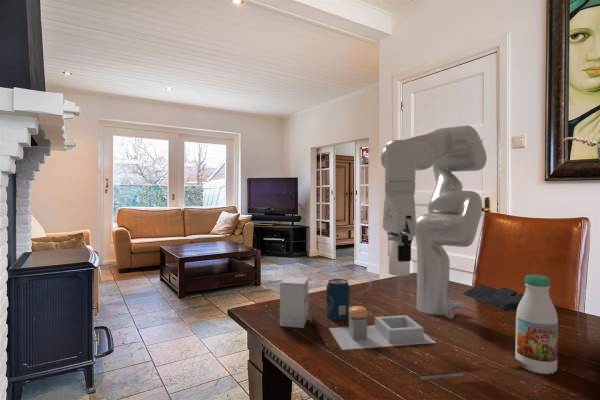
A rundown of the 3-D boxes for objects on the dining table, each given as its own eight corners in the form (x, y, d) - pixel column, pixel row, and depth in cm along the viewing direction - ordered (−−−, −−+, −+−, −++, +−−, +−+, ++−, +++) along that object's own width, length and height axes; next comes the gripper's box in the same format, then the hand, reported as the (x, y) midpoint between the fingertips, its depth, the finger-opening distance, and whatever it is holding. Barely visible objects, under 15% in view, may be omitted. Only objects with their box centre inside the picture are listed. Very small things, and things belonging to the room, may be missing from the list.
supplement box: (304, 328, 99) (304, 284, 99) (278, 326, 100) (278, 282, 100) (308, 319, 106) (309, 277, 106) (285, 317, 108) (285, 276, 107)
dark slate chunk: (491, 291, 137) (491, 279, 137) (545, 309, 116) (545, 295, 116) (459, 294, 133) (459, 282, 133) (509, 314, 112) (509, 299, 112)
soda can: (323, 318, 107) (323, 279, 107) (344, 316, 109) (344, 277, 108) (330, 326, 100) (331, 284, 100) (353, 324, 102) (353, 283, 102)
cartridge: (404, 270, 94) (404, 233, 94) (413, 275, 89) (414, 236, 88) (385, 271, 93) (385, 233, 93) (393, 276, 88) (393, 236, 87)
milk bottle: (507, 358, 81) (508, 272, 81) (538, 357, 82) (540, 272, 81) (532, 376, 73) (533, 281, 73) (566, 374, 74) (568, 280, 74)
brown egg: (363, 326, 92) (363, 305, 92) (368, 333, 88) (369, 311, 88) (346, 327, 91) (346, 306, 91) (352, 334, 87) (352, 312, 87)
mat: (438, 353, 84) (438, 351, 84) (464, 375, 74) (464, 372, 74) (398, 356, 82) (398, 354, 82) (420, 379, 72) (420, 376, 72)
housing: (411, 328, 99) (411, 305, 99) (436, 348, 86) (436, 322, 86) (328, 333, 95) (328, 309, 95) (342, 356, 82) (342, 328, 82)
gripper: (373, 188, 98) (373, 253, 99) (400, 188, 81) (400, 266, 82) (399, 188, 99) (398, 252, 100) (430, 188, 82) (430, 265, 83)
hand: (399, 258), depth 91 cm, fingers closed on cartridge, 5 cm apart
